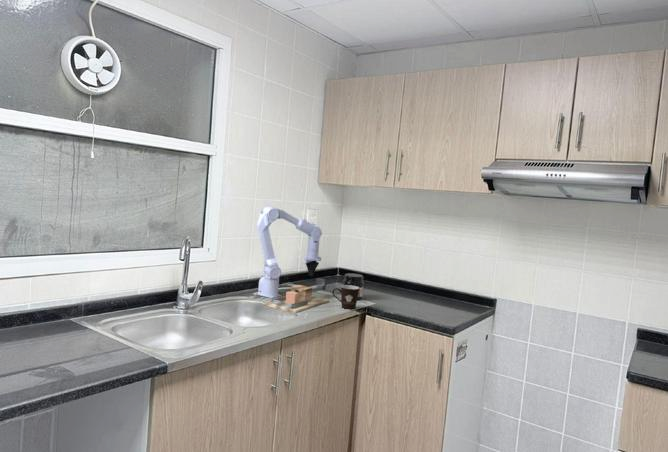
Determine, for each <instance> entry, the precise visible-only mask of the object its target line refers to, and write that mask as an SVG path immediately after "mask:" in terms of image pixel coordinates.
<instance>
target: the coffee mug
mask: <svg viewBox="0 0 668 452" xmlns="http://www.w3.org/2000/svg"><path fill="white" fill-rule="evenodd" d="M335 291H339V293H340V296H341V299H340V298H339V297H337V296H336V294H335ZM358 293H359V287H357V286H352V285H343V284H342V285H341V286H340V289H339V288H338V287H337V288H334V289H333V290H332V295H333V297H334V298H336V299H337V300H338V301H339V302H340V303H341V309H342V308H344V309H343V310H345V309H355V310H356V306H357V304H358V303H357V302H358V300H357V298H358Z"/></svg>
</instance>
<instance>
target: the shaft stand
mask: <svg viewBox="0 0 668 452" xmlns="http://www.w3.org/2000/svg"><path fill="white" fill-rule="evenodd" d="M297 290H299V291H302V293H301V295H299V300H298V302H297V303H293V304H291V303H287V302H286V295H283V296H278V297H275V298H271V300H270V301H267V302H264V305H263V306H265V307H269V308H274V309H277V310H282V311H287V312H290V313H298V312H301V311H304V310H308V309H311V308H314V307H317V306H320V305H323V304H326V303H329V302H330V299H327V298H323V297H318V296H313V293H312V287H311V286H306V285H301V284H296V285H291V287H290V291H292V292H297Z"/></svg>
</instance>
